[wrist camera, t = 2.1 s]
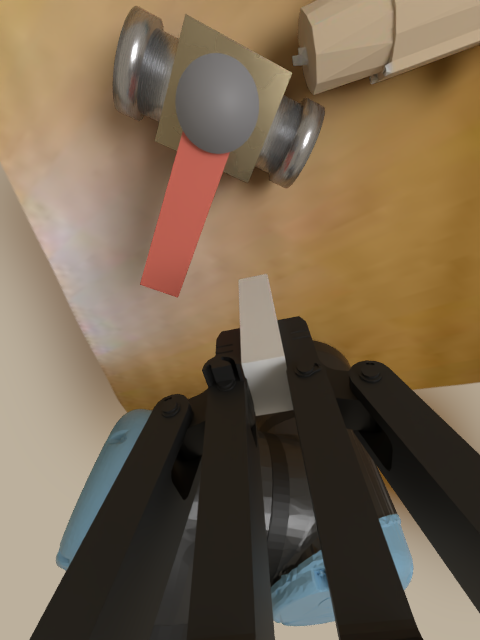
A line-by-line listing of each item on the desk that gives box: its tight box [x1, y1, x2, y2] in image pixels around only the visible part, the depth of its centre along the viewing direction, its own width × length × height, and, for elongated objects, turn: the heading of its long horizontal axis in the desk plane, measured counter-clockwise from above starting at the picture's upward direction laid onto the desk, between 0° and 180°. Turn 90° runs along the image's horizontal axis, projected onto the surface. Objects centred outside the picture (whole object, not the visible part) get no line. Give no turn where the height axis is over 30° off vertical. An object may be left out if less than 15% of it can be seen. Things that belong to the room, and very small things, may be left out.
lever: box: [140, 53, 259, 297], centre depth 21 cm, size 14×4×4 cm, turn 157°
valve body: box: [113, 6, 325, 188], centre depth 23 cm, size 13×7×7 cm, turn 67°
